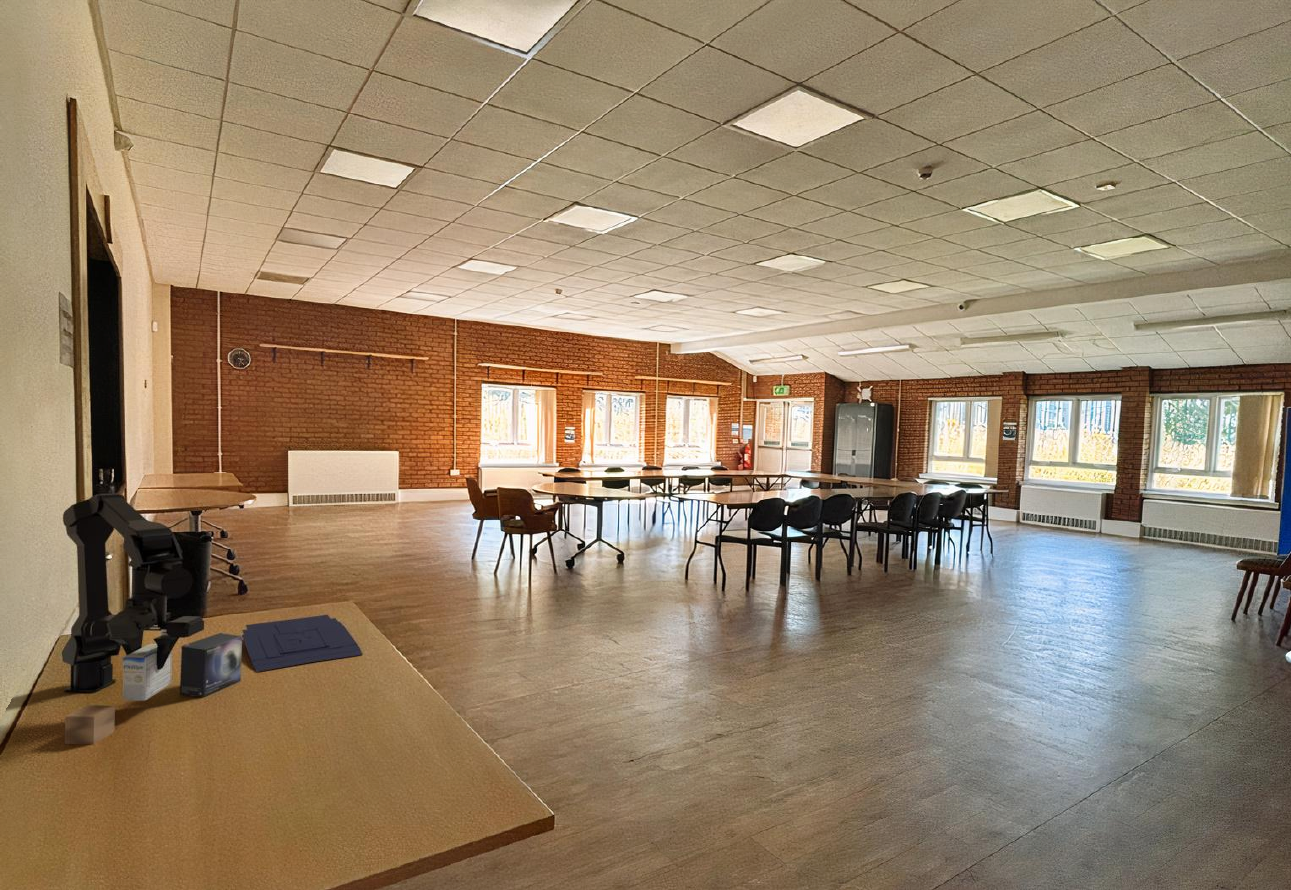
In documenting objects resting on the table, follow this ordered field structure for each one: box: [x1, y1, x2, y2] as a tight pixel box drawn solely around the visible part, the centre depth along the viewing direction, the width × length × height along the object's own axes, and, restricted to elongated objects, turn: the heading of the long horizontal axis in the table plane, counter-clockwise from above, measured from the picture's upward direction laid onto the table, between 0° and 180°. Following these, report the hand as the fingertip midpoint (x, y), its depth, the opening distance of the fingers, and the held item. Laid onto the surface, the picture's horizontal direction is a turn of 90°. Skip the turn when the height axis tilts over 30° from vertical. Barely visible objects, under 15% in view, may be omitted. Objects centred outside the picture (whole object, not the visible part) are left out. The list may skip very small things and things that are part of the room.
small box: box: [178, 632, 243, 698], centre depth 151 cm, size 11×6×10 cm, turn 168°
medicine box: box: [122, 643, 172, 702], centre depth 138 cm, size 8×4×9 cm, turn 2°
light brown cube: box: [64, 704, 116, 745], centre depth 126 cm, size 5×5×5 cm
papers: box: [241, 614, 364, 673], centre depth 180 cm, size 24×30×4 cm
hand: (147, 668), depth 138 cm, fingers closed on medicine box, 4 cm apart
